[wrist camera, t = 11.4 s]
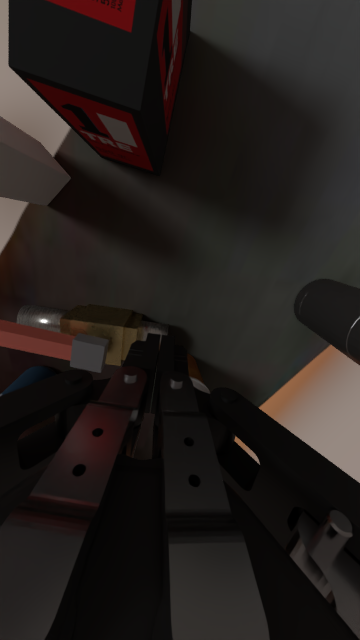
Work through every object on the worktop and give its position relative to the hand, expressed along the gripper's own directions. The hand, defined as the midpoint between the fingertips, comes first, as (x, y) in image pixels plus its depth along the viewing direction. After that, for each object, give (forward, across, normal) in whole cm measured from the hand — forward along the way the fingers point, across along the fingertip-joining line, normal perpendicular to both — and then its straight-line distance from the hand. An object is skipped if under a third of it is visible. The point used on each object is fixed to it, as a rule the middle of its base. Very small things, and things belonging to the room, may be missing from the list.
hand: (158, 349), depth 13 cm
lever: (+20, +17, +11) cm, 28 cm away
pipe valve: (+29, +11, +12) cm, 33 cm away
